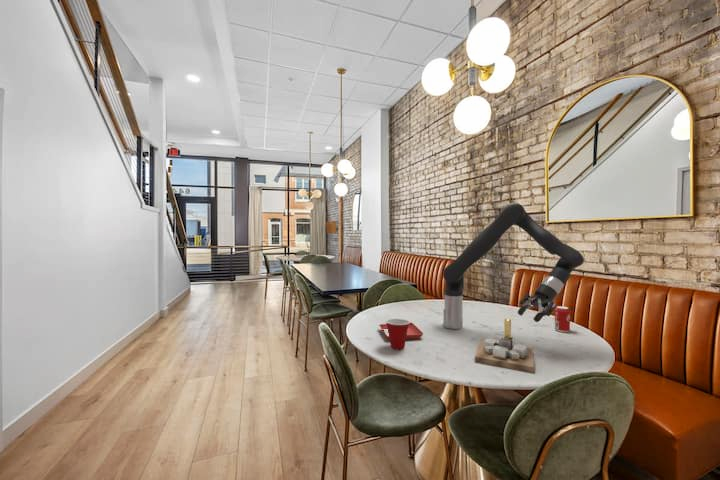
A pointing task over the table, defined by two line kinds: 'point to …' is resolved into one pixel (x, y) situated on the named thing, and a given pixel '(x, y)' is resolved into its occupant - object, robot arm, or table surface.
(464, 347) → the table surface
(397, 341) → the plastic cup
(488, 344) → the ring nut
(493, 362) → the walnut base
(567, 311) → the beverage can
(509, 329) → the brass pin
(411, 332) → the plant saucer
